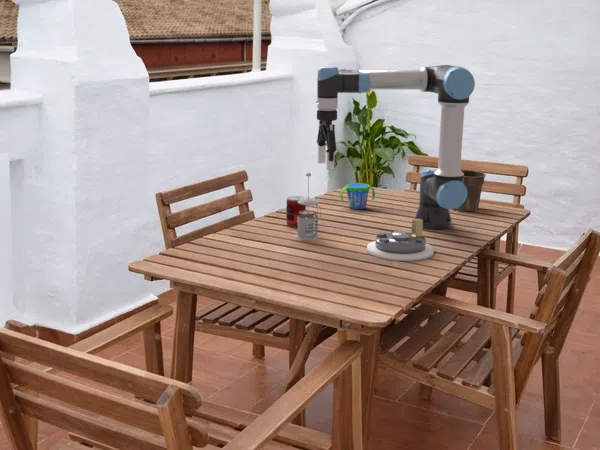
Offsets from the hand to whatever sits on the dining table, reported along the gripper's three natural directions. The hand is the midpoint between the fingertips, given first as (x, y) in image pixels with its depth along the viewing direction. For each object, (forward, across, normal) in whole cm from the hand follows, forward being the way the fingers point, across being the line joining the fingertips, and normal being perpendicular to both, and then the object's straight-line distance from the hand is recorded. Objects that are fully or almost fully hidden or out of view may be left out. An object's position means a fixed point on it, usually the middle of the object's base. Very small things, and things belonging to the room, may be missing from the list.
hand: (325, 166), depth 316 cm
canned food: (+28, -24, -6) cm, 37 cm away
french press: (+28, -4, -5) cm, 29 cm away
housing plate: (+28, +22, +23) cm, 42 cm away
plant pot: (+28, -40, +74) cm, 88 cm away
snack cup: (+28, -49, +27) cm, 62 cm away
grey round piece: (+26, +22, +23) cm, 41 cm away
